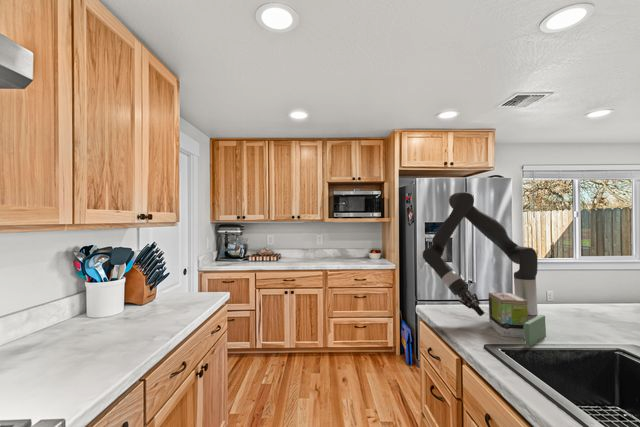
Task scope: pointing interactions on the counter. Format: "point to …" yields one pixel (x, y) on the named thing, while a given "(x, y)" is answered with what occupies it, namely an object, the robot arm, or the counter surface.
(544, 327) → the bracket
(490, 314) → the tea box
